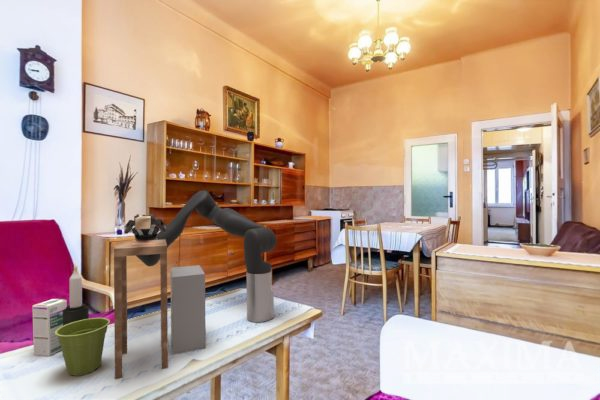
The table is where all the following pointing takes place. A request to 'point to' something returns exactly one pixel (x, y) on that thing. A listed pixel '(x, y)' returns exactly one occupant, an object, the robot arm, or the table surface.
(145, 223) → the birch bar
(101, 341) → the plant pot
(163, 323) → the walnut stool
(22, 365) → the table surface
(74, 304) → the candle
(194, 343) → the grey rectangular block
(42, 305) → the syrup box
